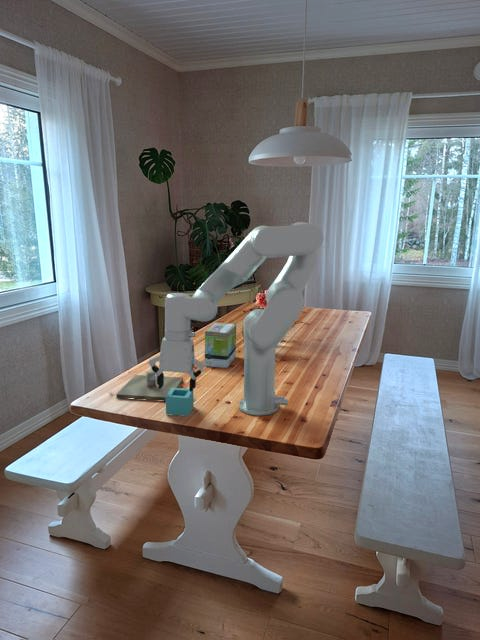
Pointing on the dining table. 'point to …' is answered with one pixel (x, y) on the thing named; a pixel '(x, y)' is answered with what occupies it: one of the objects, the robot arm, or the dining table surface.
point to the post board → (148, 387)
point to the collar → (179, 401)
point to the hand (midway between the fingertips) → (176, 388)
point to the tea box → (220, 345)
